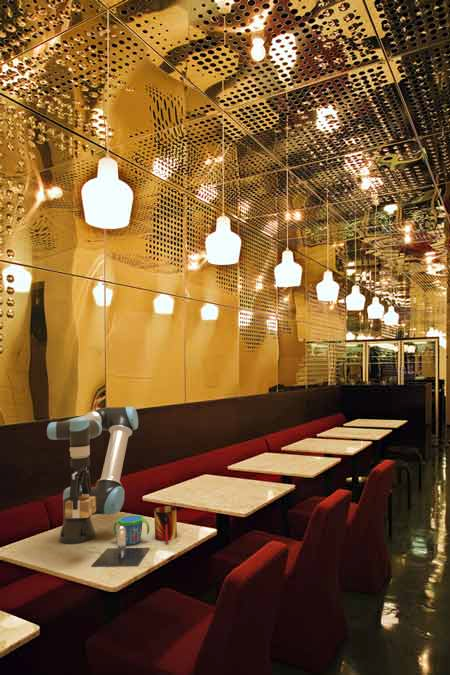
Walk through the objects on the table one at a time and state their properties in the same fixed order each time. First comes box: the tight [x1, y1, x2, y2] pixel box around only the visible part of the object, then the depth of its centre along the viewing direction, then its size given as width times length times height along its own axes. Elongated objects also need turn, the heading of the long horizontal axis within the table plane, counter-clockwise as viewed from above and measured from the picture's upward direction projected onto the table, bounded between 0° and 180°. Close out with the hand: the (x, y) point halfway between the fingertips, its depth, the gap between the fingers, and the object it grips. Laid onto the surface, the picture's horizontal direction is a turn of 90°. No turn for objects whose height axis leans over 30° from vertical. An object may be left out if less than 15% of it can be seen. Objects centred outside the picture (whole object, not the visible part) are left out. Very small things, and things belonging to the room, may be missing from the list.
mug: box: [153, 506, 178, 543], centre depth 206 cm, size 10×14×12 cm
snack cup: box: [112, 514, 150, 546], centre depth 203 cm, size 16×10×10 cm
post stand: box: [91, 525, 151, 568], centre depth 186 cm, size 18×18×12 cm
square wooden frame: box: [65, 496, 96, 518], centre depth 187 cm, size 9×9×6 cm
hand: (81, 514), depth 187 cm, fingers closed on square wooden frame, 9 cm apart
